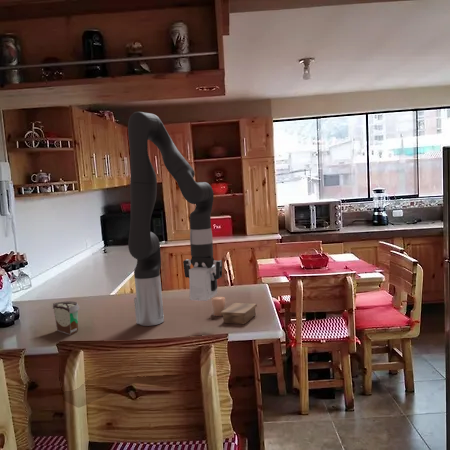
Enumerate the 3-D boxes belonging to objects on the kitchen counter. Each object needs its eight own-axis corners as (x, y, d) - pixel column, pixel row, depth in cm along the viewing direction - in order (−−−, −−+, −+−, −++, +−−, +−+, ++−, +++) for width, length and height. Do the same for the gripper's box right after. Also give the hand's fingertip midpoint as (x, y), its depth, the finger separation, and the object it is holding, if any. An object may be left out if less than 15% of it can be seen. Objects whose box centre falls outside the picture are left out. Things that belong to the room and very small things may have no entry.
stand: (221, 323, 171) (221, 312, 171) (234, 313, 182) (233, 302, 182) (245, 324, 168) (244, 313, 167) (257, 314, 179) (256, 303, 178)
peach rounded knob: (210, 315, 181) (209, 299, 181) (215, 311, 186) (214, 296, 185) (222, 316, 179) (222, 300, 179) (227, 312, 184) (226, 297, 183)
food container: (88, 330, 174) (85, 303, 173) (73, 335, 169) (70, 307, 168) (70, 325, 182) (67, 299, 181) (55, 330, 177) (52, 303, 176)
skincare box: (207, 301, 160) (205, 270, 158) (189, 300, 162) (187, 269, 161) (218, 293, 169) (217, 263, 168) (201, 292, 172) (199, 263, 170)
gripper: (225, 240, 164) (227, 288, 166) (187, 239, 170) (190, 286, 172) (216, 243, 157) (218, 294, 159) (177, 243, 163) (180, 291, 165)
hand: (204, 290), depth 165 cm, fingers closed on skincare box, 6 cm apart
